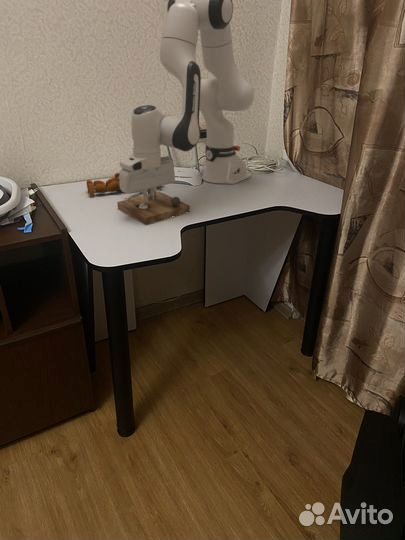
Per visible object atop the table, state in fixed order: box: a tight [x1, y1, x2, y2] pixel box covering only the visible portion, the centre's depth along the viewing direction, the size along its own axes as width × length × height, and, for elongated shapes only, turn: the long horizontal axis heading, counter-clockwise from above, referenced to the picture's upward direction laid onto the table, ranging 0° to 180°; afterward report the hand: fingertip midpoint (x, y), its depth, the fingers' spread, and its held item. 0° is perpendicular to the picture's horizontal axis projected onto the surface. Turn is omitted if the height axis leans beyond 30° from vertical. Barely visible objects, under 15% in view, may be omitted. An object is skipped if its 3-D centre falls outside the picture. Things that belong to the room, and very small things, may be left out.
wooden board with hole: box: [116, 191, 190, 226], centre depth 138 cm, size 18×18×2 cm
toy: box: [86, 172, 132, 199], centre depth 155 cm, size 20×7×30 cm
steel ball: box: [138, 203, 149, 210], centre depth 135 cm, size 4×4×4 cm
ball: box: [171, 196, 182, 206], centre depth 135 cm, size 3×3×3 cm
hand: (149, 200), depth 136 cm, fingers closed
